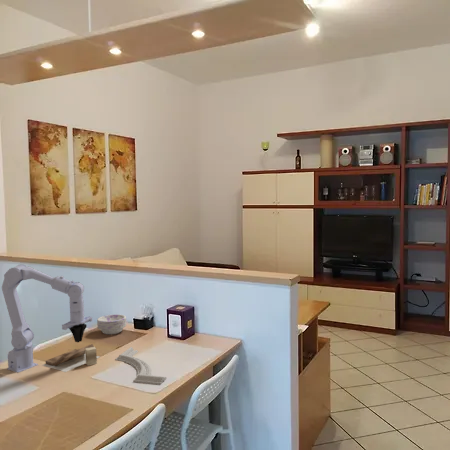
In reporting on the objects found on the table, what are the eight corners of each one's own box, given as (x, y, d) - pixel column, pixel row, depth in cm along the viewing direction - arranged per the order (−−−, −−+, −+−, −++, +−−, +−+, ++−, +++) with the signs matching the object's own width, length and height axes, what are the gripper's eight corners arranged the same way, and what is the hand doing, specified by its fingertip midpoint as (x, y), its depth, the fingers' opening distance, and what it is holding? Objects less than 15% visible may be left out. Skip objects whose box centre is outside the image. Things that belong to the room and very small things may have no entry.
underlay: (65, 372, 178) (65, 371, 178) (41, 365, 186) (41, 365, 186) (100, 357, 194) (100, 356, 194) (77, 351, 202) (77, 351, 202)
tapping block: (95, 362, 189) (96, 364, 186) (85, 364, 186) (87, 366, 184) (94, 346, 188) (96, 348, 185) (85, 348, 186) (86, 350, 183)
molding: (170, 384, 166) (170, 376, 166) (140, 391, 160) (140, 383, 160) (135, 351, 203) (135, 345, 203) (110, 355, 197) (110, 349, 197)
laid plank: (53, 366, 184) (52, 362, 184) (45, 364, 187) (45, 360, 187) (82, 354, 198) (82, 350, 198) (75, 352, 200) (75, 349, 200)
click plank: (64, 358, 180) (62, 355, 180) (54, 366, 184) (53, 363, 184) (93, 346, 193) (92, 343, 194) (84, 354, 197) (83, 351, 197)
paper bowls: (118, 325, 242) (118, 312, 241) (131, 332, 230) (131, 317, 230) (93, 331, 232) (92, 317, 231) (105, 338, 220) (104, 323, 220)
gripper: (69, 316, 177) (70, 348, 178) (96, 308, 190) (97, 337, 191) (58, 314, 181) (59, 345, 182) (85, 306, 193) (86, 335, 194)
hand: (78, 341), depth 187 cm, fingers closed
